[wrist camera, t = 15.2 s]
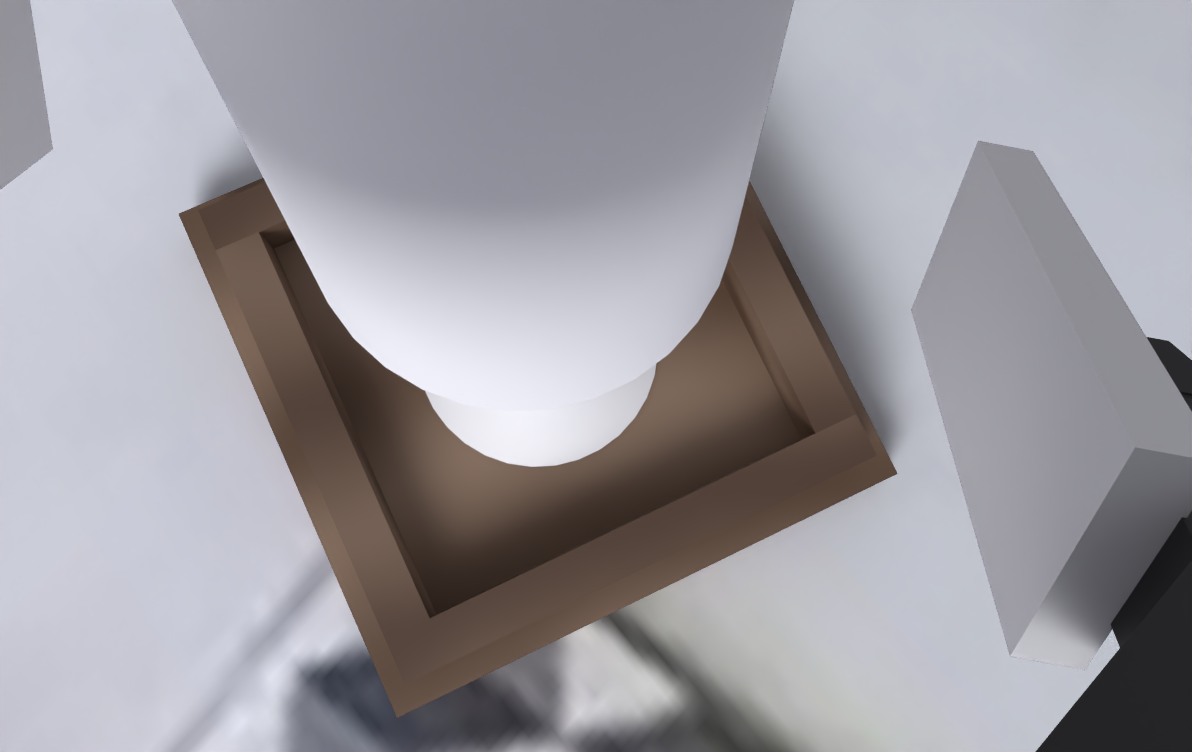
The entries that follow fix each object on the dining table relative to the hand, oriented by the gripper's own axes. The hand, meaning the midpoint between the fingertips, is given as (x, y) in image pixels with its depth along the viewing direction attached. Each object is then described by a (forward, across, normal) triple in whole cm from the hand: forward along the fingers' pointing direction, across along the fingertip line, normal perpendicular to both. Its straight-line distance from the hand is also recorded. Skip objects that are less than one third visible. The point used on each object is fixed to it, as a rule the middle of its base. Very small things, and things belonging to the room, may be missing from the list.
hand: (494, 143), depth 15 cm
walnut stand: (+11, 0, -11) cm, 16 cm away
